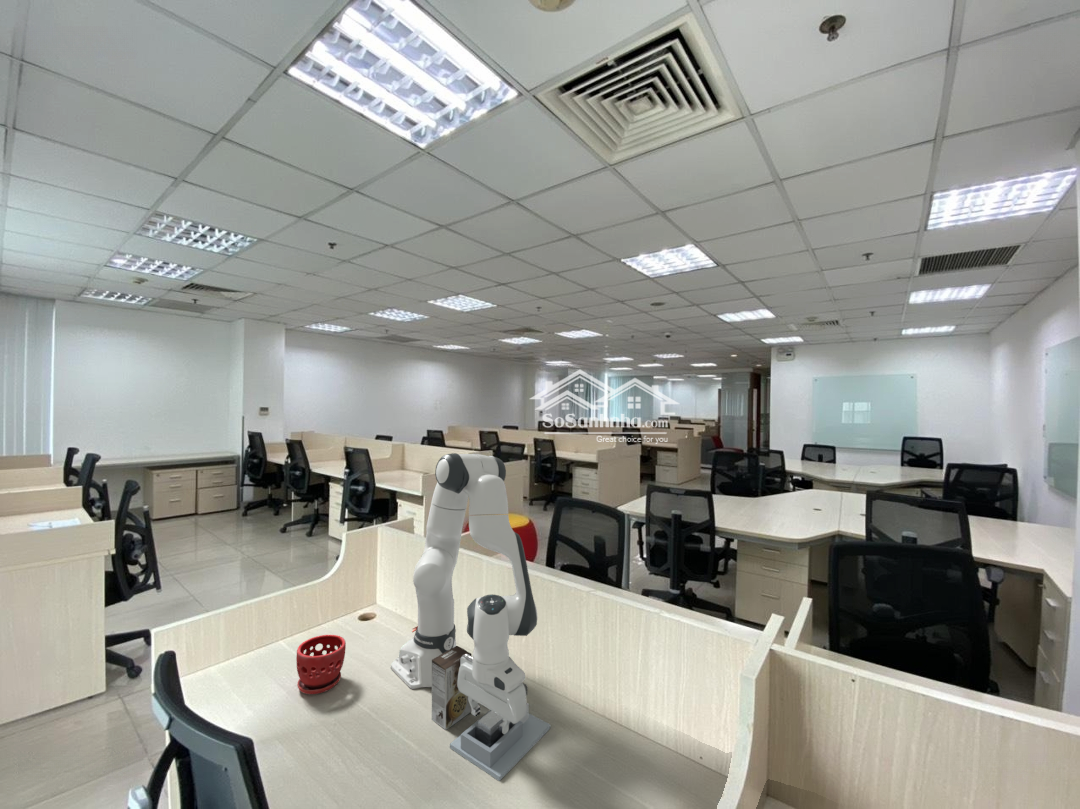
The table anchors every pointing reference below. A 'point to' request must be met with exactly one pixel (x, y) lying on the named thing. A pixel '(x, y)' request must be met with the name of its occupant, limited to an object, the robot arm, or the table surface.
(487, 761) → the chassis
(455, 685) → the coffee box
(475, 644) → the robot arm
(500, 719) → the grey rectangular block
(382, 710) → the table surface
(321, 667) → the plant pot
